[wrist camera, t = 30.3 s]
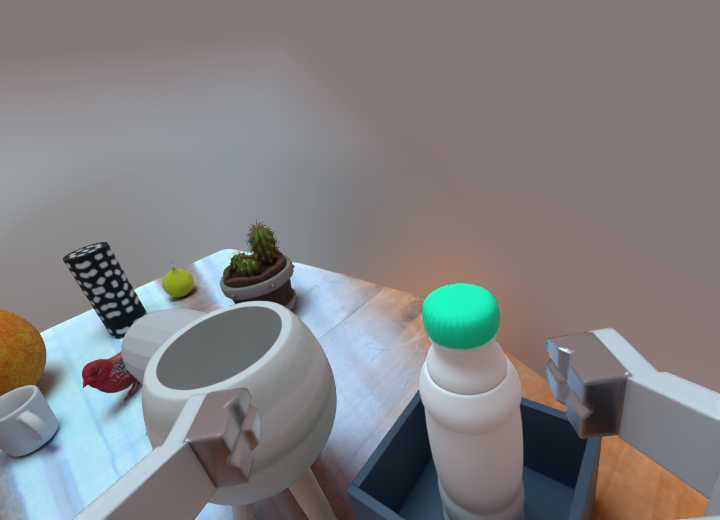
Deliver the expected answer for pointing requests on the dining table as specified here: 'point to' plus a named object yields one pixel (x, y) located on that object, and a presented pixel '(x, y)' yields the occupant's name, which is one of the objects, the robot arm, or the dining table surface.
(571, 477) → the bin
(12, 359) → the decorative sphere
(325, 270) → the dining table surface
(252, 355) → the planter
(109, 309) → the white-spotted black cylinder
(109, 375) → the decorative bird figurine
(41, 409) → the cup
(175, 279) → the yellow-green rounded piece
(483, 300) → the water bottle
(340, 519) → the dining table surface
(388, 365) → the dining table surface
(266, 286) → the flowerpot
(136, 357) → the jet engine
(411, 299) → the dining table surface
